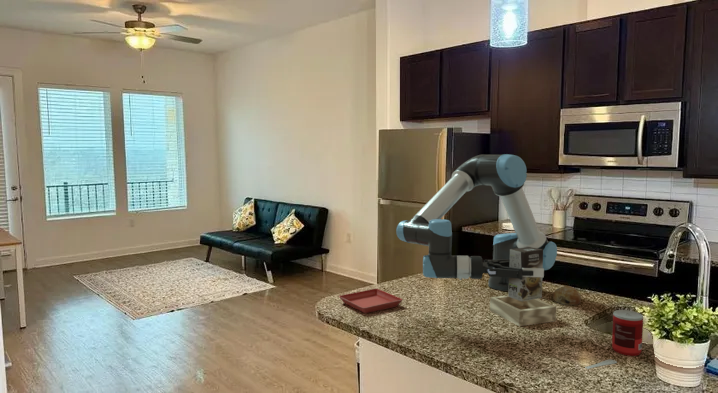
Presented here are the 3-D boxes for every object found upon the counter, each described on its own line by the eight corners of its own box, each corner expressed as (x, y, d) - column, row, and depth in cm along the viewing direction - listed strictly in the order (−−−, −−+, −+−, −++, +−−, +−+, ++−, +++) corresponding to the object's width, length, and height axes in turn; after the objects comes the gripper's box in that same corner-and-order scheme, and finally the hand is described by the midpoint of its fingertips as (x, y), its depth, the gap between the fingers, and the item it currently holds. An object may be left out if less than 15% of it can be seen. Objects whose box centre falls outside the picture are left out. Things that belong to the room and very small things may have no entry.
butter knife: (620, 362, 135) (610, 358, 138) (555, 379, 125) (546, 375, 128) (620, 364, 135) (610, 360, 138) (555, 381, 125) (546, 376, 128)
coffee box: (522, 302, 157) (523, 252, 155) (507, 296, 162) (508, 248, 161) (542, 297, 161) (544, 249, 159) (527, 292, 166) (528, 245, 165)
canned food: (634, 346, 147) (635, 310, 146) (646, 357, 139) (648, 319, 138) (607, 345, 148) (608, 309, 147) (618, 356, 140) (620, 318, 139)
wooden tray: (524, 306, 185) (524, 293, 184) (555, 321, 169) (556, 306, 168) (489, 310, 180) (489, 297, 179) (519, 326, 164) (519, 311, 163)
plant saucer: (363, 316, 175) (363, 307, 175) (338, 303, 190) (337, 295, 190) (403, 307, 185) (403, 299, 185) (376, 296, 200) (376, 288, 200)
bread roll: (552, 311, 190) (553, 295, 186) (553, 294, 198) (553, 278, 195) (580, 314, 187) (581, 298, 183) (579, 296, 195) (580, 280, 191)
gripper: (466, 270, 174) (531, 271, 172) (473, 287, 152) (548, 289, 149) (466, 249, 174) (532, 250, 171) (473, 263, 151) (548, 265, 149)
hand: (539, 268), depth 160 cm, fingers closed on coffee box, 10 cm apart
